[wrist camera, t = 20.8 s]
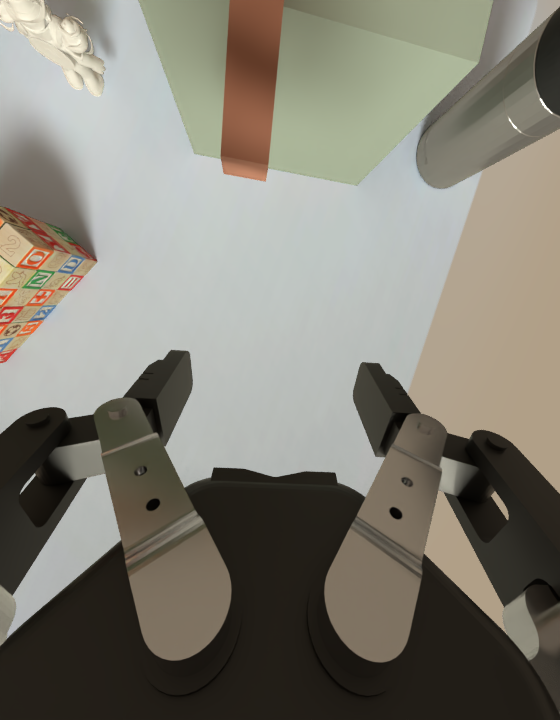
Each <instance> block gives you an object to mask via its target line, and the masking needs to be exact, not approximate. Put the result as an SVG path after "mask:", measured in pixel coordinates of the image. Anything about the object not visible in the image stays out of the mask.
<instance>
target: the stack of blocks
mask: <svg viewBox="0 0 560 720" xmlns="http://www.w3.org/2000/svg"><path fill="white" fill-rule="evenodd" d="M96 263H97V261H96V260H95V259H94V258H93V257H92V256H91V255H90V254H89V253H87V252H86V251H85V250H84V249H83V248H82V247H81V246H79V245H78V244H77V243H76V242H74V241H73V240H72V239H71V238H70V237H69V236H68V235H67V234H66V233H64V232H63V231H62V230H61V229H60V228H57V227H55V226H52V225H49V224H47V223H43V222H41V221H38V220H36V219H33V218H31V217H28V216H25V215H24V214H21V213H19V212H16V211H13V210H10V209H8V208H6V207H1V206H0V363H3V362H6V361H7V360H8V359H9V358H10V356H11V355H12V354H13V353H14V352H15V350H17V348H19V347H20V346H21V345H22V344H23V343H24V342H25V341H26V340H27V338H28V337H29V336H30V335H31V334H32V333H33V332H34V331H35V330H36V329H37V328H38V326H39V325H40V324H41V323H42V322H43V321H44V319H45V318H46V317H47V316H48V315H49V313H50V312H51V311H52V310H53V309H54V308H55V307H56V305H57V304H58V303H59V302H60V301H61V300H62V299H63V298H64V297H65V296H66V295H67V293H68V292H69V291H71V290H72V289H73V288H74V287H75V285H76V284H77V283H78V282H79V281H80V280H81V279H82V278H83V277H84V276H85V275H86V274H87V273H88V272H89V271H90V269H91V268H92V267H93V266H94V265H95V264H96Z"/></svg>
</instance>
